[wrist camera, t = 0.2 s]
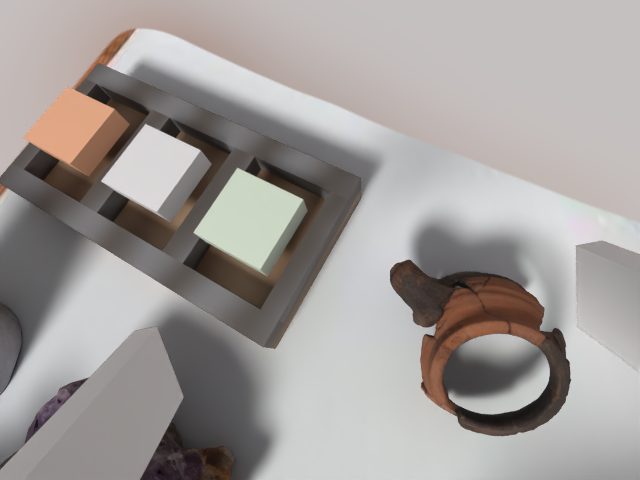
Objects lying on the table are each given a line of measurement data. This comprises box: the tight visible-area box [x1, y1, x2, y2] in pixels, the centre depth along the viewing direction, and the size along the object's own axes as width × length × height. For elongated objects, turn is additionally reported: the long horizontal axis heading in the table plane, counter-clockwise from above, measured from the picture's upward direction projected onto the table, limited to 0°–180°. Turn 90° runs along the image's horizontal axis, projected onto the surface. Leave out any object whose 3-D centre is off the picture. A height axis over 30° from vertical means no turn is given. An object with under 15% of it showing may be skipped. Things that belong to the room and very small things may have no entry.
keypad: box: [0, 63, 361, 349], centre depth 30 cm, size 28×14×4 cm, turn 61°
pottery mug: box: [390, 260, 571, 436], centre depth 24 cm, size 12×10×8 cm
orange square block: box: [24, 87, 130, 176], centre depth 30 cm, size 6×6×2 cm
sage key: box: [193, 168, 308, 276], centre depth 25 cm, size 6×6×2 cm
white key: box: [101, 124, 211, 222], centre depth 28 cm, size 6×6×2 cm
